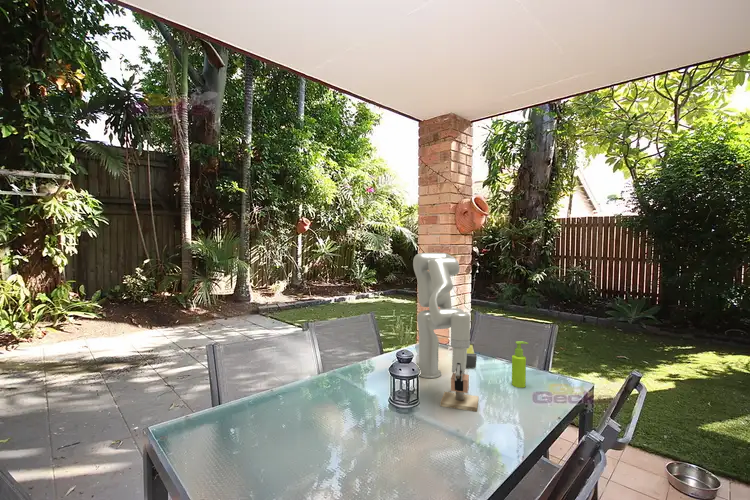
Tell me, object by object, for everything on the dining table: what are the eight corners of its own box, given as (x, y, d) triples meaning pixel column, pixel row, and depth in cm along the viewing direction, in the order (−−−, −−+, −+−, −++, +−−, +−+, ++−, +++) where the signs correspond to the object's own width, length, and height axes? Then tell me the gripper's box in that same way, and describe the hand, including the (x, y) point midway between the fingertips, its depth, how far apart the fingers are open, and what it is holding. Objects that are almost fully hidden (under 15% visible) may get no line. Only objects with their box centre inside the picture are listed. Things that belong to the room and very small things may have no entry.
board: (440, 406, 141) (440, 382, 141) (444, 395, 151) (444, 372, 151) (477, 411, 136) (477, 387, 136) (478, 399, 146) (478, 377, 146)
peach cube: (450, 390, 142) (451, 378, 142) (452, 384, 148) (452, 372, 148) (467, 393, 140) (467, 380, 139) (468, 386, 146) (468, 374, 145)
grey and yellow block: (474, 382, 189) (467, 347, 216) (476, 356, 182) (469, 323, 210) (459, 381, 190) (454, 346, 217) (461, 355, 183) (456, 323, 211)
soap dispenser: (530, 387, 159) (530, 343, 159) (514, 387, 159) (514, 343, 159) (524, 382, 165) (525, 340, 165) (509, 382, 165) (510, 339, 165)
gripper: (453, 336, 153) (453, 378, 153) (447, 347, 136) (447, 394, 137) (471, 338, 150) (471, 380, 151) (468, 349, 134) (467, 397, 134)
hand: (459, 386), depth 144 cm, fingers closed on peach cube, 6 cm apart
